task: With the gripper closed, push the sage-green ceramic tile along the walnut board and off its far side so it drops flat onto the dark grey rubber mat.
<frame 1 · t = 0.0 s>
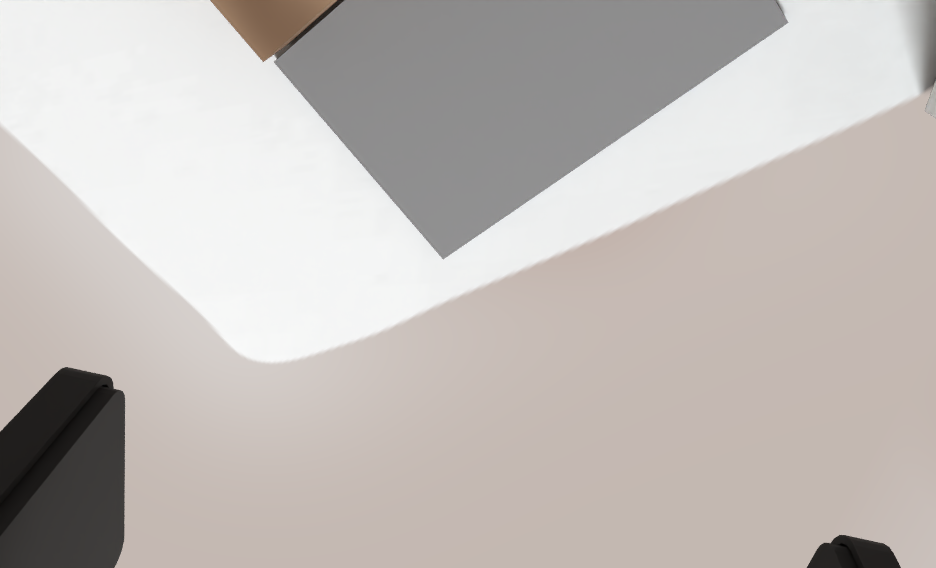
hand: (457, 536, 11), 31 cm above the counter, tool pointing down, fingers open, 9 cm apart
mat: (522, 40, 38), on the counter
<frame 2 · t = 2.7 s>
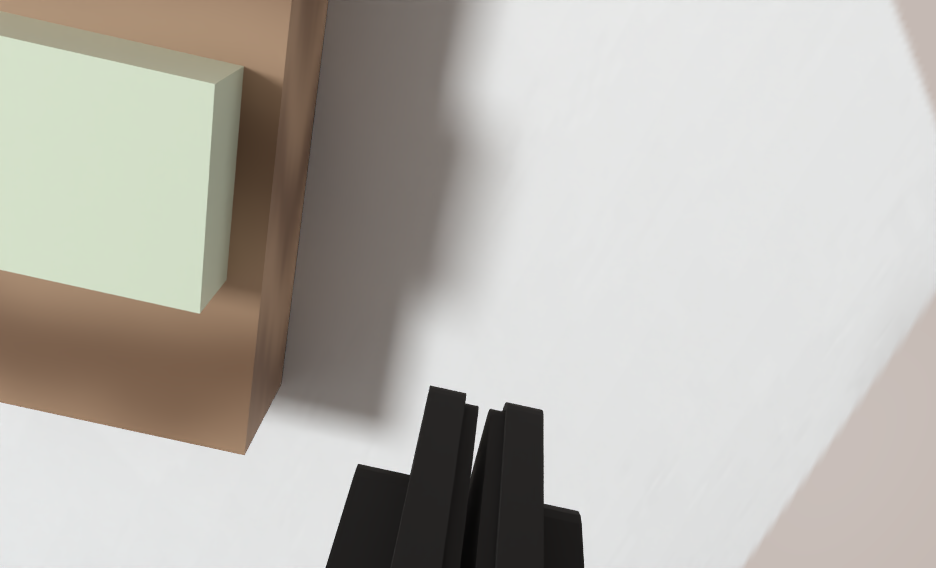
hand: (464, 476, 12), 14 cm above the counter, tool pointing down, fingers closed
board: (117, 101, 25), on the counter
tile: (65, 141, 21), point 4 cm above the counter, touching board
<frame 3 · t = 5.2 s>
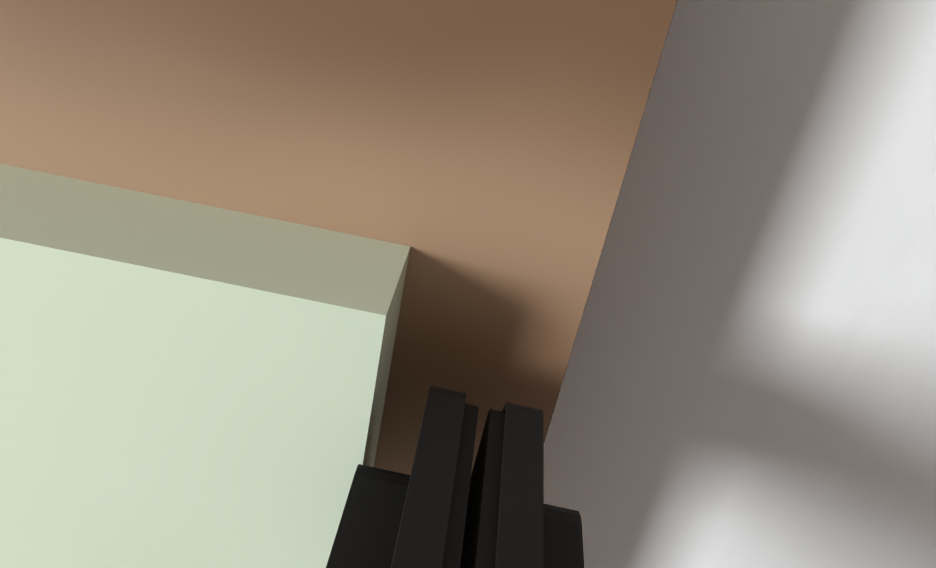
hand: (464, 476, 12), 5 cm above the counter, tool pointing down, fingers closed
board: (253, 260, 16), on the counter
tile: (105, 357, 13), point 4 cm above the counter, touching board, gripper
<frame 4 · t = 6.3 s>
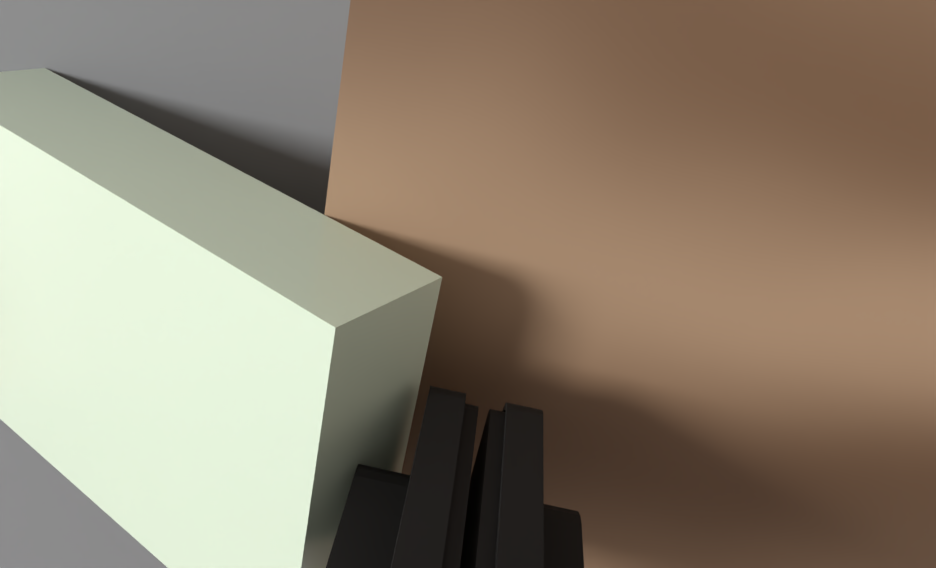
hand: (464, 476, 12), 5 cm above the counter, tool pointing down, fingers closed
mat: (28, 211, 16), on the counter
board: (641, 341, 17), on the counter
tile: (204, 320, 14), point 3 cm above the counter, tilted 31°, touching gripper, mat
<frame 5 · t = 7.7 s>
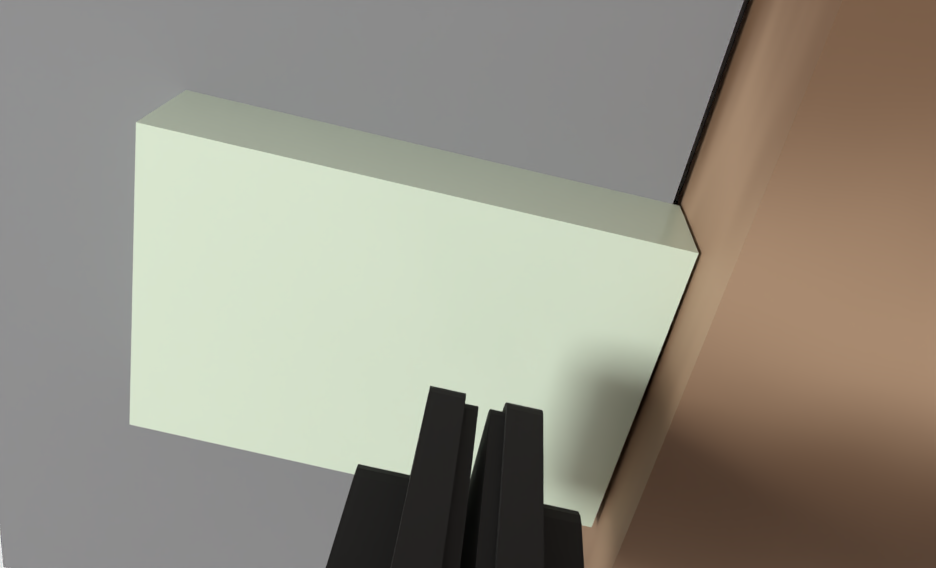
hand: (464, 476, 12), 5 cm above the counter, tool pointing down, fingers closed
mat: (305, 267, 16), on the counter
board: (914, 401, 17), on the counter
tile: (405, 292, 16), resting on mat
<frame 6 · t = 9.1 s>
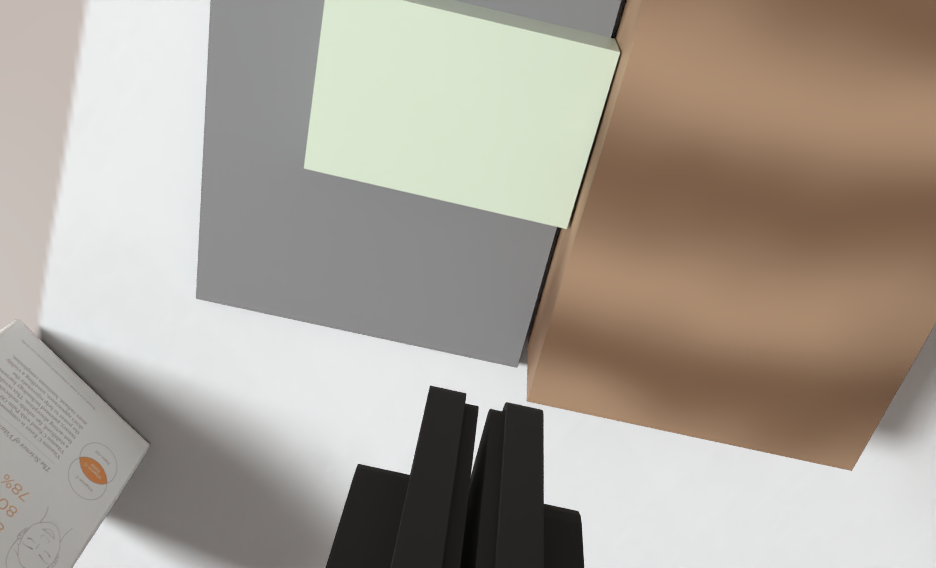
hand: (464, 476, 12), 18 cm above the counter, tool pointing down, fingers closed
mat: (399, 84, 28), on the counter
small box: (44, 410, 36), on the counter
board: (756, 165, 28), on the counter
tile: (459, 96, 28), resting on mat
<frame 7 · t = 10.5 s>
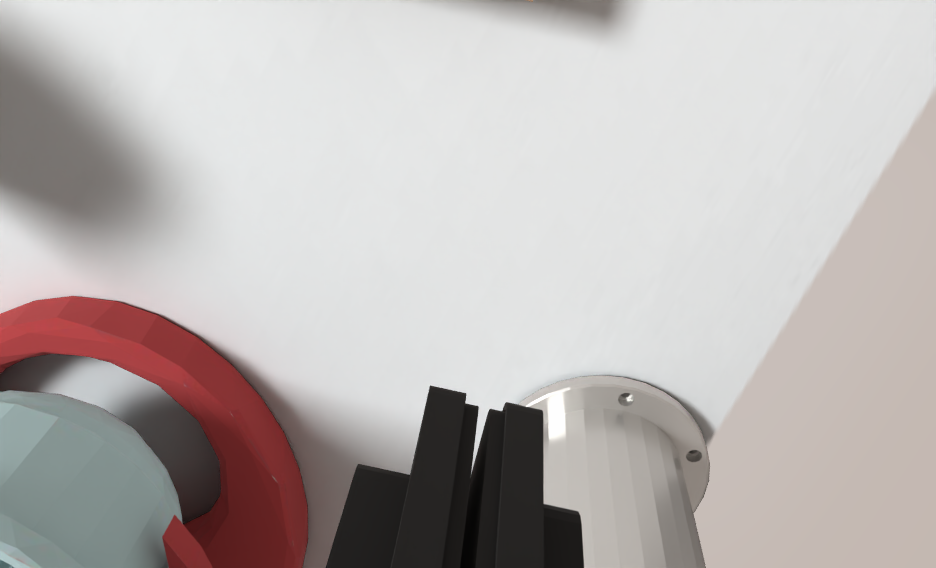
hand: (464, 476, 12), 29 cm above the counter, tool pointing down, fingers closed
stand mixer: (131, 496, 53), on the counter
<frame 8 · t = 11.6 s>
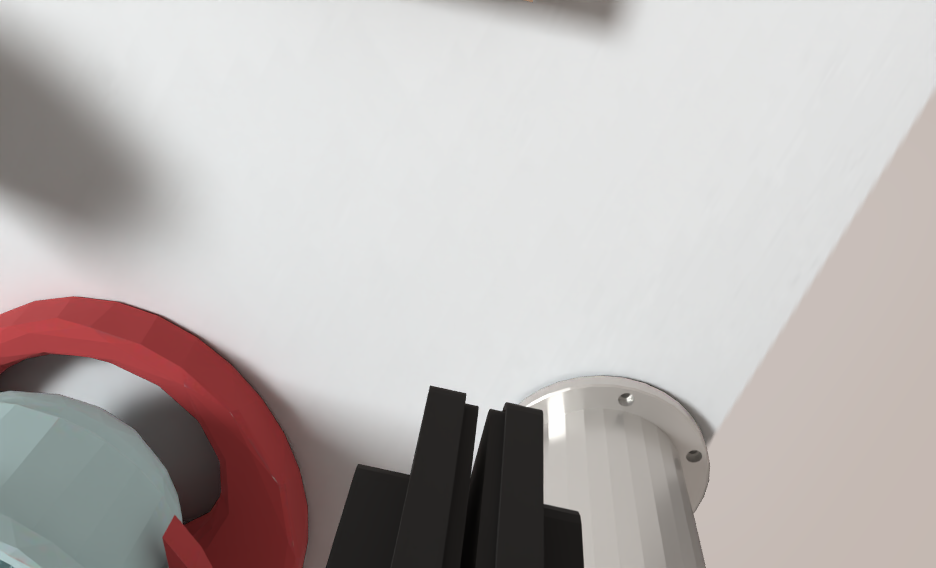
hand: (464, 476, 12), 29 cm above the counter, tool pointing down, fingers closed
stand mixer: (131, 497, 53), on the counter
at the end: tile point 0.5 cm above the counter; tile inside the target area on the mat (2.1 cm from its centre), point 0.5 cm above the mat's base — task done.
